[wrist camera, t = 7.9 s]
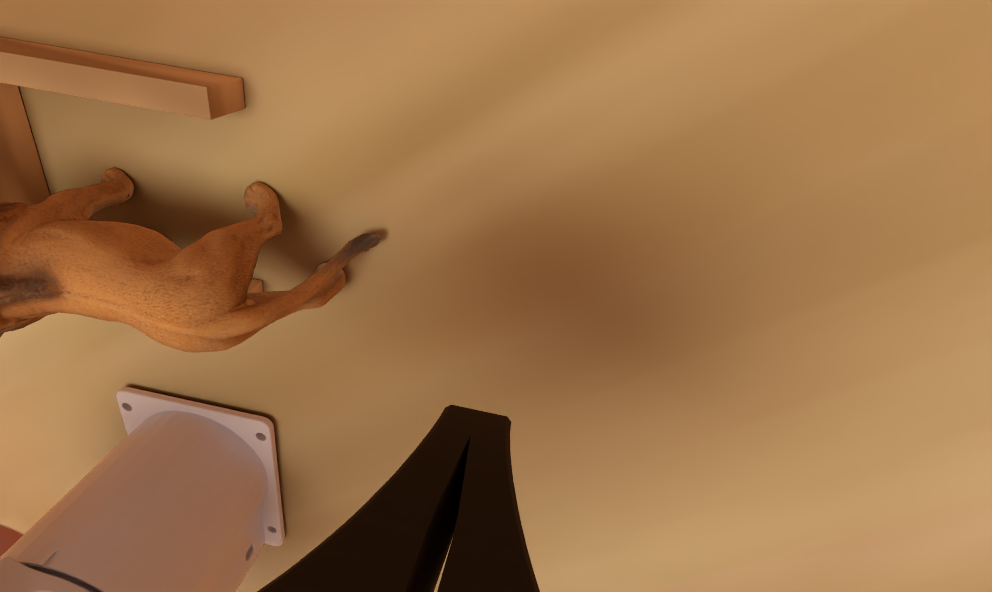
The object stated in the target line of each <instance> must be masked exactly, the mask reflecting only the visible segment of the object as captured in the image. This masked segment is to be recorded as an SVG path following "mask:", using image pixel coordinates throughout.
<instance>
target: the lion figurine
mask: <svg viewBox="0 0 992 592" xmlns="http://www.w3.org/2000/svg"><path fill="white" fill-rule="evenodd" d="M133 190H134V185H133V183H132V181H131V180H130V179H129V177H128V176H127V175H126V174H125V173H124V172H123V171H121V170H119V169H117V168H110V169H108V170H107V171H106V172H105V173H104V174H103V175H102V180H101V183H100V184H96V185H89V186H85V187H81V188H76V189H68V190H64V191H60V192H58V193H55V194H53V195H51V196H49V197H48V198H47V199H45V200H44V201H43V202H41V203H39V204H35V205H27V204H25V203H20V202H15V203H10V202H2V201H0V337H1V336H2V335H3V333H4V332H8V331H14V330H17V329H20V328H23V327H25V326H27V325H29V324H31V323H34V322H36V321H38V320H40V319H42V318H43V317H45V316H47V315H50V314H55V313H58V312H59V313H70V314H79V315H83V316H87V317H92V318H96V319H101V320H106V321H118V322H122V323H125V324H128V325H131V326H133V327H134V328H136V329H138V330H139V331H141V332H143V333H144V334H146V335H147V336H149V337H150V338H152V339H153V340H155V341H157V342H159V343H161V344H163V345H166V346H169V347H171V348H175V349H178V350H182V351H186V352H212V351H221V350H227V349H229V348H231V347H233V346H236V345H238V344H240V343H242V342H243V341H245V340H246V339H248V338H249V337H251V336H252V335H254V334H255V333H257V332H258V331H259V330H261V329H262V328H264V327H266V326H267V325H269V324H271V323H273V322H275V321H276V320H279V319H281V318H283V317H285V316H287V315H289V314H291V313H294V312H296V311H299V310H303V309H311V308H317V307H321V306H323V305H324V304H326V303H327V302H328V301H329V300H330V299H331V298H332V297H333V296H335V295H336V294H337V293H338V292H339V291H341V290H342V288H343V287H344V286H345V283H346V276H345V273H344V271H343V270H342V268H343V267H344V266H345V265H346V264H347V263H348V262H349V261H350V260H351V259H352V258H354V257H355V256H357V255H358V254H360V253H362V252H365V251H368V250H369V249H370V248H372V247H374V246H376V245H377V244H378V243H379V242H380V240H381V238H380V235H379V234H378V233H375V234H363V235H360V236H358V237H356V238H354V239H353V240H351V241H349V242H348V243H347V244H346V245H345V246H344V247H343V248H342V249H341V250H340V251H339V252H338V253H337V254H336V255H335V256H334V257H333V258H332V259H331V260H330V261H329V262H328V263H323V264H321V265H319V266H318V267H317V269H316V270H315V272H314V273H313V275H312V276H311V277H309V278H308V279H307V280H306V281H304V282H303V283H301V284H300V285H298V286H297V287H295V288H293V289H292V290H290V291H273V292H257V293H247V291H248V288H249V285H250V283H251V280H252V277H253V272H254V269H255V266H256V263H257V259H258V254H259V250H260V248H261V246H262V244H263V243H264V242H265V241H267V240H268V239H270V238H272V237H274V236H277V235H279V234H280V233H281V232H282V221H281V216H280V209H279V201H278V198H277V196H276V194H275V193H274V192H273V190H272V189H271V188H269V187H268V186H267V185H265V184H263V183H259V182H255V183H253V184H251V185H249V186H248V187H247V188H246V191H245V195H244V199H245V204H246V207H247V208H248V209H249V210H250V211H252V212H254V213H256V215H255V216H254V217H253V218H251V219H249V220H246V221H243V222H239V223H235V224H232V225H229V226H226V227H223V228H219V229H215V230H213V231H210V232H209V233H207V234H205V235H204V236H203V237H202V238H201V239H200V240H198V241H196V242H195V243H193V244H191V245H189V246H187V247H185V248H184V249H181V248H180V247H179V246H178V245H176V244H174V243H173V242H171V241H170V240H169V239H167V238H166V237H164V236H163V235H161V234H160V233H158V232H156V231H154V230H151V229H148V228H145V227H142V226H139V225H134V224H129V223H123V222H115V221H92V220H89V219H90V217H91V216H92V215H93V214H94V213H95V212H97V211H98V210H100V209H103V208H105V207H108V206H112V205H116V204H121V203H123V202H124V201H126V200H128V199H129V198H130V197H131V196H132V194H133Z"/></svg>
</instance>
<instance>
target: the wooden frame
mask: <svg viewBox="0 0 992 592" xmlns="http://www.w3.org/2000/svg"><path fill="white" fill-rule="evenodd" d="M18 86H23V87H29V88H34V89H40V90H46V91H51V92H57V93H62V94H68V95H74V96H79V97H85V98H91V99H96V100H102V101H108V102H113V103H119V104H125V105H130V106H136V107H142V108H147V109H153V110H159V111H164V112H170V113H176V114H181V115H187V116H193V117H198V118H204V119H209V120H211V119H214V118H217V117H220V116H223V115H226V114H229V113H232V112H235V111H238V110H241V109H244V108H245V101H244V91H243V81H242V78H239V77H233V76H227V75H221V74H215V73H209V72H203V71H197V70H192V69H186V68H180V67H174V66H168V65H162V64H156V63H150V62H144V61H139V60H133V59H127V58H121V57H115V56H109V55H103V54H97V53H91V52H86V51H80V50H74V49H68V48H62V47H56V46H50V45H44V44H39V43H33V42H27V41H21V40H15V39H9V38H3V37H0V201H2V202H10V203H15V202H20V203H25V204H27V205H35V204H39V203H41V202H43V201H44V200H45V199H47V198H48V197H49V196H50V194H49V190H48V187H47V184H46V180H45V177H44V174H43V170H42V167H41V163H40V160H39V157H38V153H37V150H36V146H35V143H34V140H33V136H32V133H31V129H30V126H29V123H28V119H27V116H26V112H25V109H24V106H23V102H22V99H21V96H20V92H19V89H18ZM257 292H263V284H262V281H261V280H256V279H252V280H251V283H250V285H249V288H248V291H247V293H257Z"/></svg>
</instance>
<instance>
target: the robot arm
mask: <svg viewBox="0 0 992 592" xmlns="http://www.w3.org/2000/svg"><path fill="white" fill-rule="evenodd" d="M116 398H117V401H118V405H119V408H120V412H121V415H122V419H123V422H124V426H125V429H126V433H127V437H126V438H125V439H124V440H123V441H122V442H121V443H120V444H119V445H118V446H117V447H116V448H115V449H114V450H113V451H112V452H111V453H109V454H108V455H107V456H106V457H105V458H104V459H103V460H102V461H101V462H100V463H99V464H98V465H97V466H96V467H95V468H94V469H93V470H92V471H91V472H90V473H88V474H87V475H86V476H85V477H84V478H83V479H82V480H81V481H80V482H79V483H78V484H77V485H76V486H75V487H74V488H73V489H72V490H71V491H70V492H68V493H67V494H66V495H65V496H64V497H63V498H62V499H61V500H60V501H59V502H58V503H57V504H56V505H55V506H54V507H53V508H52V509H51V510H50V511H49V512H47V513H46V514H45V515H44V516H43V517H42V518H41V519H40V520H39V521H38V522H37V523H36V524H35V525H34V526H33V527H32V528H31V529H30V530H29V531H27V532H26V533H25V534H24V535H23V536H22V537H21V538H20V539H19V540H18V541H17V542H16V543H15V544H14V545H13V546H12V547H11V548H10V549H9V550H8V551H6V552H5V553H4V554H3V555H2V556H1V557H0V592H235V591H236V590H237V588H238V586H239V585H240V583H241V581H242V580H243V578H244V577H245V575H246V573H247V572H248V570H249V568H250V567H251V565H252V563H253V562H254V560H255V558H256V557H257V555H258V553H259V552H260V550H261V548H262V547H263V545H264V544H267V545H271V546H281V545H282V543H283V542H284V540H285V533H284V523H283V513H282V504H281V494H280V484H279V474H278V464H277V455H276V445H275V435H274V426H273V423H272V422H271V421H270V420H269V419H268V418H266V417H263V416H258V415H254V414H249V413H244V412H240V411H235V410H231V409H226V408H222V407H217V406H212V405H208V404H203V403H199V402H194V401H190V400H185V399H180V398H176V397H171V396H167V395H162V394H158V393H153V392H148V391H144V390H139V389H135V388H130V387H123V388H121V389H120V390H119V391H118V392H117V393H116ZM510 427H511V421H510V420H509V418H508V417H506V416H502V415H497V414H492V413H488V412H483V411H478V410H474V409H469V408H464V407H459V406H455V405H450V406H448V407H446V408H445V409H444V411H443V413H442V414H441V416H440V417H439V419H438V420H437V422H436V423H435V425H434V426H433V427H432V429H431V430H430V432H429V433H428V434H427V436H426V437H425V438H424V439H423V441H422V442H421V443H420V444H419V446H418V447H417V448H416V449H415V451H414V452H413V453H412V454H411V455H410V456H409V458H408V459H407V460H406V461H405V462H404V463H403V464H402V466H401V467H400V468H399V469H398V470H397V471H396V473H395V474H394V475H393V476H392V477H391V478H390V479H389V480H388V481H387V482H386V483H385V484H384V485H383V486H382V487H381V488H380V489H379V490H378V491H377V492H376V493H375V494H374V495H373V496H372V497H371V499H370V500H369V501H368V502H367V503H366V504H365V505H364V506H363V507H361V508H360V509H359V510H358V511H357V512H356V513H355V514H354V515H353V516H352V517H351V518H350V519H349V520H348V521H346V522H345V523H344V524H343V525H342V526H341V527H340V528H339V529H337V530H336V531H335V532H334V533H333V534H332V535H331V536H329V537H328V538H327V539H326V540H325V541H324V542H322V543H321V544H320V545H319V546H317V547H316V548H315V549H314V550H312V551H311V552H310V553H309V554H307V555H306V556H305V557H304V558H302V559H301V560H300V561H299V562H297V563H296V564H295V565H294V566H292V567H291V568H290V569H288V570H287V571H286V572H284V573H283V574H282V575H280V576H279V577H278V578H276V579H275V580H273V581H272V582H270V583H269V584H268V585H266V586H265V587H263V588H262V589H260V590H259V591H257V592H434V589H435V586H436V584H437V581H438V578H439V575H440V572H441V569H442V566H443V564H444V561H445V558H446V555H447V552H448V549H449V546H450V544H451V546H450V550H449V553H448V557H447V560H446V563H445V567H444V570H443V574H442V577H441V581H440V584H439V588H438V591H437V592H540V591H539V588H538V584H537V581H536V578H535V575H534V571H533V568H532V564H531V561H530V557H529V554H528V550H527V546H526V542H525V538H524V534H523V529H522V525H521V521H520V516H519V511H518V506H517V500H516V494H515V488H514V482H513V475H512V466H511V455H510ZM452 538H453V539H452ZM451 541H452V543H451Z"/></svg>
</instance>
